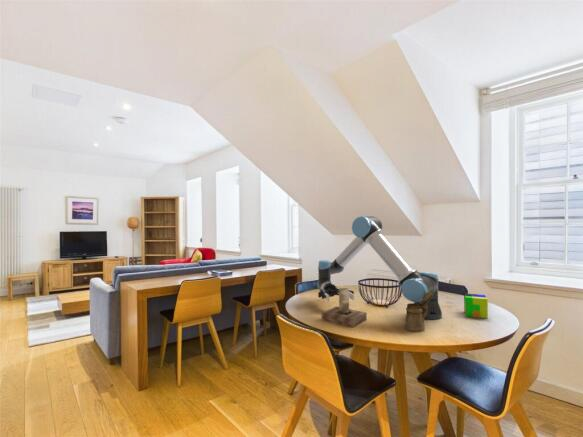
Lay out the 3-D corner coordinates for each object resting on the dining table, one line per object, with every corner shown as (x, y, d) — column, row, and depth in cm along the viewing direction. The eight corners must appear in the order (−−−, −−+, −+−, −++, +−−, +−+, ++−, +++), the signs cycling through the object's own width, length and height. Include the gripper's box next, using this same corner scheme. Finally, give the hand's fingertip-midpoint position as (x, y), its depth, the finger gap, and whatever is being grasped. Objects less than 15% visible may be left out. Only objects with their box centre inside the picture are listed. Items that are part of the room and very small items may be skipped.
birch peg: (350, 319, 163) (350, 288, 163) (345, 322, 159) (345, 290, 159) (342, 317, 166) (342, 287, 166) (337, 320, 162) (337, 289, 162)
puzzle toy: (485, 313, 173) (484, 295, 173) (487, 318, 164) (487, 299, 164) (464, 311, 177) (464, 293, 177) (465, 316, 168) (465, 297, 168)
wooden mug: (437, 331, 144) (437, 292, 144) (408, 332, 144) (407, 292, 144) (429, 325, 153) (428, 288, 153) (401, 325, 153) (401, 288, 153)
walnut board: (366, 320, 162) (366, 312, 162) (353, 327, 151) (352, 318, 151) (336, 313, 173) (336, 306, 174) (321, 319, 163) (321, 312, 163)
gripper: (349, 294, 189) (363, 303, 168) (308, 296, 185) (317, 306, 164) (349, 281, 189) (363, 289, 168) (308, 283, 185) (317, 291, 164)
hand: (340, 297), depth 166 cm, fingers open, 13 cm apart
